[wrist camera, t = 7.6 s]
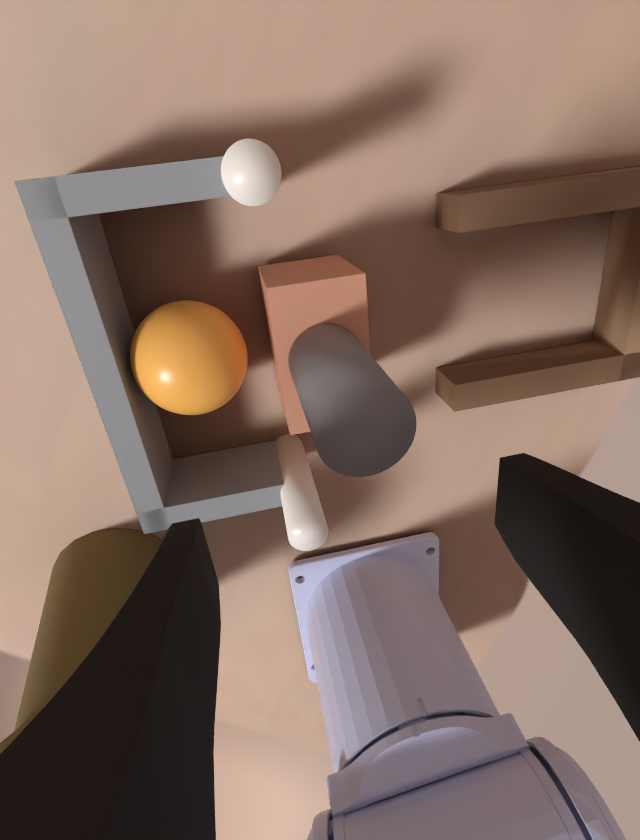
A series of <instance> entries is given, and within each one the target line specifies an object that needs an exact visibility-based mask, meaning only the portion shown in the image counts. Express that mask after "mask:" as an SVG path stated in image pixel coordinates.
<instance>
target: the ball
mask: <svg viewBox="0 0 640 840" xmlns="http://www.w3.org/2000/svg"><path fill="white" fill-rule="evenodd" d="M130 364H131V369H132V373H133V376H134V379H135V381H136V383H137V384H138V386H139V388H140V389H141V390H142V392H143V393H144V394H145V395H146V396H147V397H148V398H149V399H150V400H151V401H152V402H153V403H155V404H156V405H158V406H159V407H161V408H163V409H165V410H168V411H170V412H173V413H177V414H183V415H199V414H204V413H208V412H211V411H213V410H216V409H218V408H220V407H222V406H223V405H224V404H226V403H227V402H228V401H230V400H231V398H232V397H233V396H234V395H235V394H236V393H237V391H238V390H239V389H240V387H241V385H242V383H243V381H244V378H245V375H246V371H247V365H248V355H247V348H246V344H245V341H244V338H243V336H242V334H241V332H240V330H239V329H238V327H237V326H236V324H235V323H234V322H233V321H232V320H231V319H230V318H229V317H228V316H227V315H226V314H225V313H223V312H222V311H221V310H219V309H217V308H215V307H213V306H211V305H209V304H206V303H203V302H198V301H190V300H183V301H175V302H171V303H168V304H165V305H163V306H160V307H158V308H157V309H155V310H154V311H152V312H151V313H150V314H149V315H147V316H146V317H145V318H144V320H143V321H142V322H141V323H140V325H139V326H138V328H137V329H136V331H135V334H134V336H133V339H132V342H131V347H130Z"/></svg>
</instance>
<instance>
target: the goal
mask: <svg viewBox="0 0 640 840" xmlns="http://www.w3.org/2000/svg"><path fill="white" fill-rule="evenodd" d="M281 176H282V173H281V166H280V162H279V160H278V157H277V156H276V154H275V153H274V151H273V150H272V149H271V148H270V147H269V146H268V145H267V144H265V143H264V142H262V141H259V140H256V139H242V140H239V141H237V142H235V143H234V144H233V145H231V146H230V147H229V148H228V150H227V151H226V153H225V155H224V156H220V157H212V158H204V159H195V160H187V161H179V162H170V163H162V164H154V165H145V166H137V167H129V168H120V169H112V170H104V171H95V172H87V173H79V174H70V175H62V176H54V177H45V178H37V179H29V180H20V181H14V182H15V184H16V187H17V190H18V193H19V195H20V198H21V201H22V204H23V206H24V209H25V212H26V214H27V217H28V220H29V223H30V225H31V228H32V231H33V233H34V236H35V239H36V242H37V244H38V247H39V250H40V252H41V255H42V258H43V261H44V263H45V266H46V269H47V272H48V274H49V277H50V280H51V282H52V285H53V288H54V291H55V293H56V296H57V299H58V301H59V304H60V307H61V310H62V312H63V315H64V318H65V320H66V323H67V326H68V329H69V331H70V334H71V337H72V340H73V342H74V345H75V348H76V350H77V353H78V356H79V359H80V361H81V364H82V367H83V369H84V372H85V375H86V378H87V380H88V383H89V386H90V388H91V391H92V394H93V397H94V399H95V402H96V405H97V408H98V410H99V413H100V416H101V418H102V421H103V424H104V427H105V429H106V432H107V435H108V437H109V440H110V443H111V446H112V448H113V451H114V454H115V456H116V459H117V462H118V465H119V467H120V470H121V473H122V476H123V478H124V481H125V484H126V486H127V489H128V492H129V495H130V497H131V500H132V503H133V505H134V508H135V511H136V514H137V516H138V519H139V522H140V524H141V527H142V530H143V533H144V534H147V533H152V532H157V531H162V530H167V529H168V528H169V527H170V526H171V524H172V523H177V522H182V521H187V520H192V519H197V518H200V521H201V523H202V522H207V521H212V520H217V519H222V518H227V517H232V516H237V515H242V514H247V513H252V512H257V511H262V510H267V509H272V508H277V507H283V512H284V518H285V523H286V529H287V534H288V540H289V542H290V544H291V545H292V546H293V547H294V548H295V549H298V550H301V551H310V550H314V549H317V548H319V547H320V546H322V545H323V544H324V543H325V542H326V540H327V538H328V535H329V530H328V526H327V523H326V520H325V516H324V513H323V509H322V506H321V503H320V499H319V496H318V493H317V489H316V486H315V483H314V479H313V476H312V473H311V469H310V466H309V463H308V459H307V456H306V453H305V449H304V446H303V443H302V441H301V439H300V438H299V437H298V436H296V435H290V434H284V435H281V436H279V437H278V438H277V439H276V440H273V441H267V442H262V443H257V444H251V445H246V446H241V447H235V448H230V449H224V450H219V451H214V452H208V453H203V454H197V455H192V456H187V457H181V458H176V459H173V458H172V455H171V452H170V448H169V445H168V442H167V438H166V435H165V432H164V428H163V425H162V422H161V419H160V415H159V412H158V409H157V405H156V404H155V403H153V402H152V401H151V400H150V399H149V398H148V397H147V396H146V395H145V394H144V393H143V392H142V390H141V389H140V388H139V386H138V384H137V383H136V381H135V379H134V376H133V373H132V369H131V364H130V347H131V342H132V339H133V336H134V334H135V332H134V329H133V326H132V323H131V319H130V316H129V313H128V309H127V306H126V303H125V299H124V296H123V293H122V289H121V286H120V283H119V280H118V276H117V273H116V270H115V266H114V263H113V260H112V256H111V253H110V250H109V246H108V243H107V240H106V236H105V233H104V230H103V227H102V223H101V220H100V217H99V213H106V212H113V211H121V210H129V209H137V208H144V207H152V206H160V205H168V204H175V203H183V202H191V201H198V200H206V199H214V198H222V197H229V196H231V197H232V198H233V199H235V200H236V201H237V202H239V203H241V204H244V205H247V206H260V205H263V204H265V203H267V202H268V201H270V200H271V199H272V198H273V197H274V196H275V194H276V193H277V191H278V189H279V187H280V183H281Z"/></svg>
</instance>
